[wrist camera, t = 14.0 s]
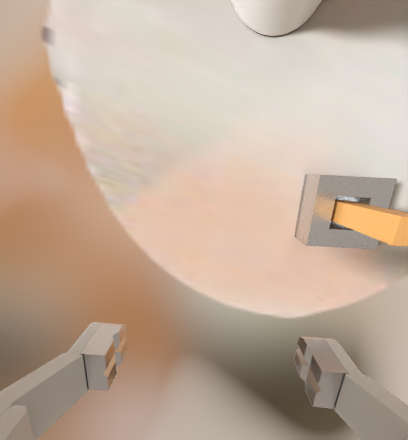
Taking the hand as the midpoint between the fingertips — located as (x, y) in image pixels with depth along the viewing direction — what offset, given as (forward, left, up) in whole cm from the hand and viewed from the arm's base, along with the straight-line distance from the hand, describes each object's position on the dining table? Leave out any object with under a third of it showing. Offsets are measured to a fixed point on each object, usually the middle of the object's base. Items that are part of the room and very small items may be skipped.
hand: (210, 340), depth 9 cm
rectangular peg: (-2, +23, -28) cm, 37 cm away
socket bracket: (-2, +23, -29) cm, 37 cm away
